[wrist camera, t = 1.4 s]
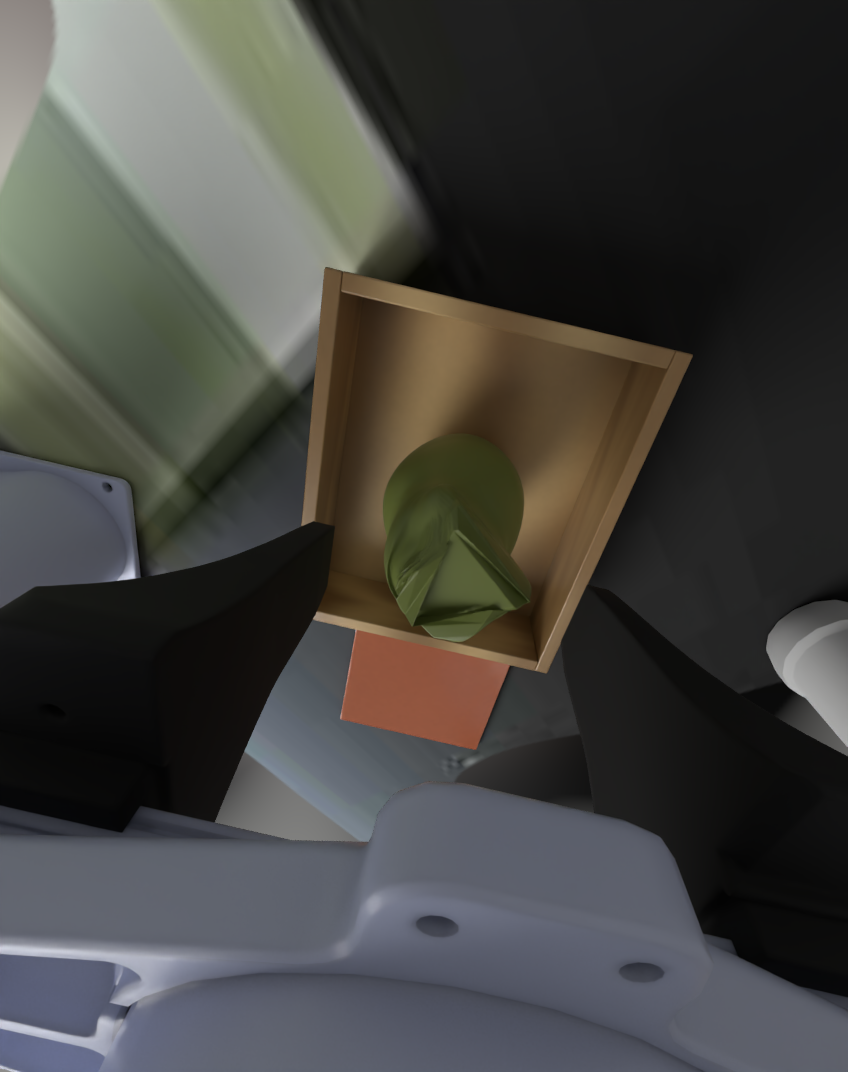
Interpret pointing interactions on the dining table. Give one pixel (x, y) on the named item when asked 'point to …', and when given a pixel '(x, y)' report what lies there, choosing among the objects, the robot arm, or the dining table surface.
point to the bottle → (815, 658)
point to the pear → (454, 536)
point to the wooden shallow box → (490, 413)
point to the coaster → (420, 689)
